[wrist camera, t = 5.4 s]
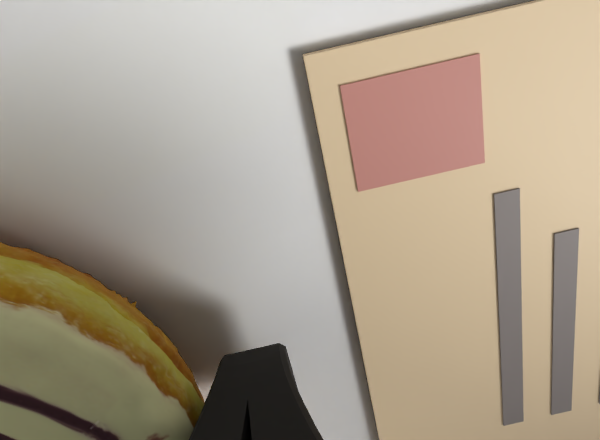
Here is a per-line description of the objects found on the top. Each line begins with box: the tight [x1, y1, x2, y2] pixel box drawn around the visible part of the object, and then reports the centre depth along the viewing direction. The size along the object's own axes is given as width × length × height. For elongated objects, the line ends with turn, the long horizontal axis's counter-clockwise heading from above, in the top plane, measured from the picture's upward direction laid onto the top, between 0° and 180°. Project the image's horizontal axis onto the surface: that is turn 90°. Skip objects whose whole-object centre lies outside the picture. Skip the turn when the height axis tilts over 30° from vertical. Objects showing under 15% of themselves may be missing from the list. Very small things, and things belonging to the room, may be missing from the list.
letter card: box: [302, 0, 600, 440], centre depth 12 cm, size 12×9×1 cm
